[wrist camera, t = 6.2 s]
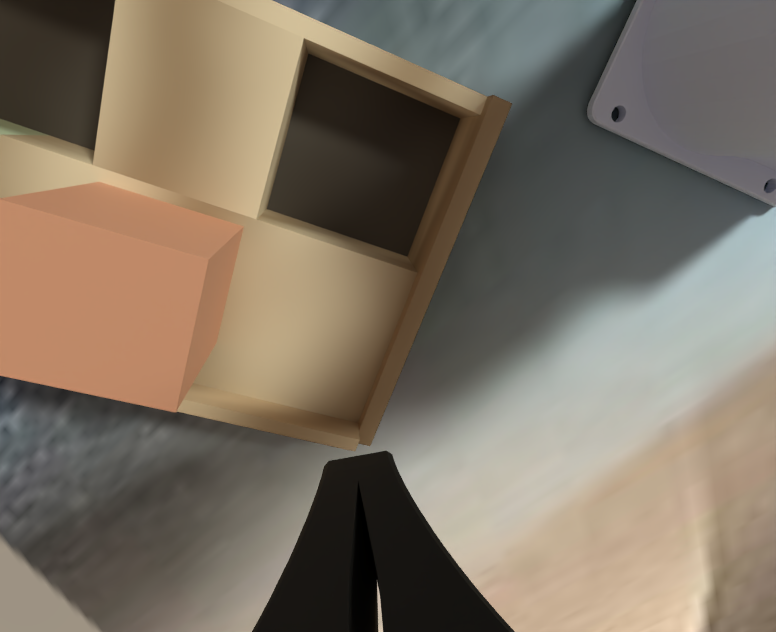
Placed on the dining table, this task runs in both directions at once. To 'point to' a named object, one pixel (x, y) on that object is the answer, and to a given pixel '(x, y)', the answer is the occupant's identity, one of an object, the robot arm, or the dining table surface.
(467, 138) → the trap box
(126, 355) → the block
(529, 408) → the dining table surface
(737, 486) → the dining table surface
